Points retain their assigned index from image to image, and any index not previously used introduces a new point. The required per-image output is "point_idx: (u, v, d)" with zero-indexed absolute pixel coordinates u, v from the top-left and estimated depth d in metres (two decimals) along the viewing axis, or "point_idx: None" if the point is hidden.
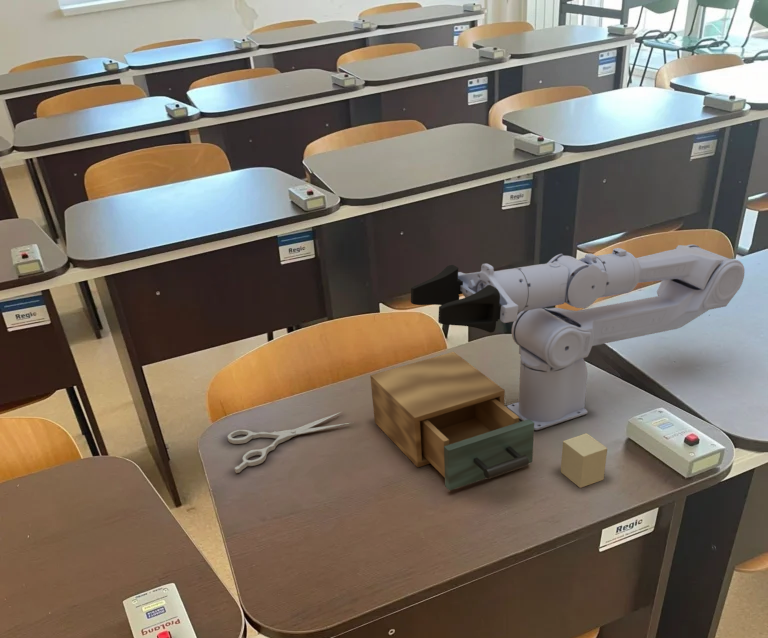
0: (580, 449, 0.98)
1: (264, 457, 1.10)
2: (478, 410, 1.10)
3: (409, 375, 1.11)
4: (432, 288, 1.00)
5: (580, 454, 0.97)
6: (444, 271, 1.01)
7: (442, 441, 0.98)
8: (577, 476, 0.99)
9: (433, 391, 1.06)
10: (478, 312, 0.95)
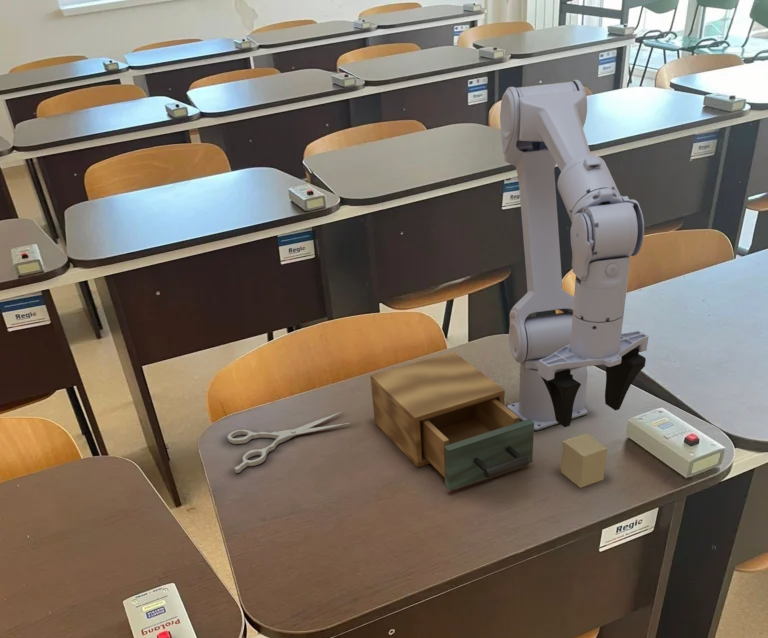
0: (580, 449, 0.98)
1: (264, 457, 1.10)
2: (478, 410, 1.10)
3: (409, 375, 1.11)
4: None
5: (580, 454, 0.97)
6: (568, 394, 0.89)
7: (442, 441, 0.98)
8: (577, 476, 0.99)
9: (433, 391, 1.06)
10: None
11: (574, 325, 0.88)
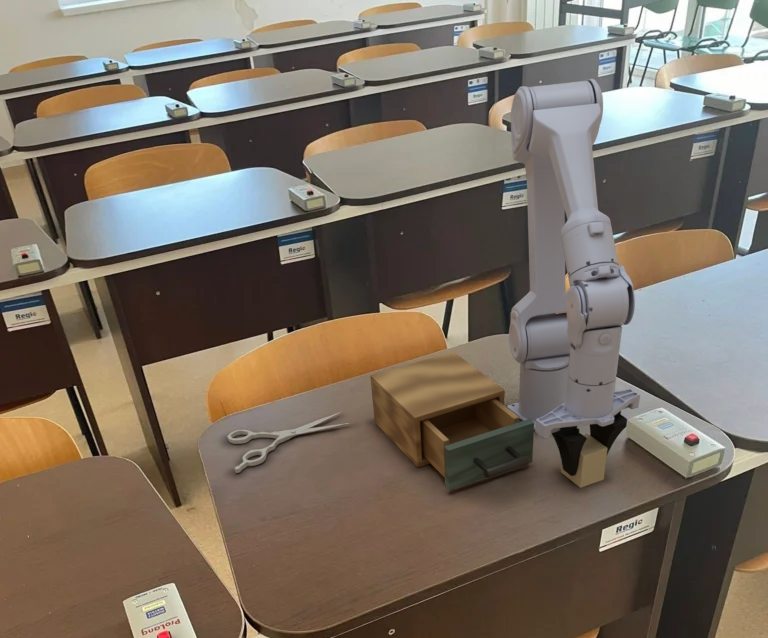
0: None
1: (264, 457, 1.10)
2: (478, 410, 1.10)
3: (409, 375, 1.11)
4: None
5: (580, 454, 0.97)
6: (574, 447, 0.95)
7: (442, 441, 0.98)
8: (577, 476, 0.99)
9: (433, 391, 1.06)
10: None
11: (569, 386, 0.92)
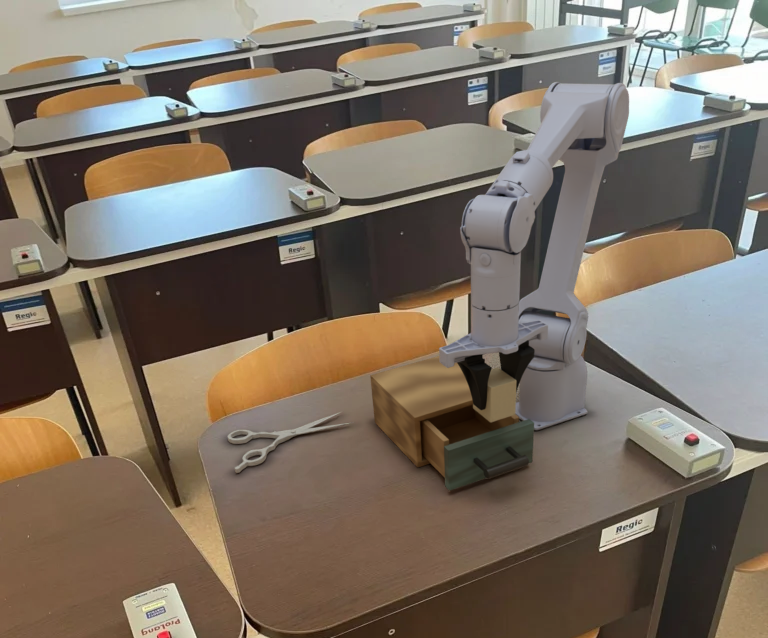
0: (489, 381, 0.95)
1: (264, 457, 1.10)
2: None
3: (409, 375, 1.11)
4: None
5: (488, 386, 0.95)
6: (480, 377, 0.93)
7: (442, 441, 0.98)
8: (487, 410, 0.97)
9: (433, 391, 1.06)
10: None
11: (472, 313, 0.90)
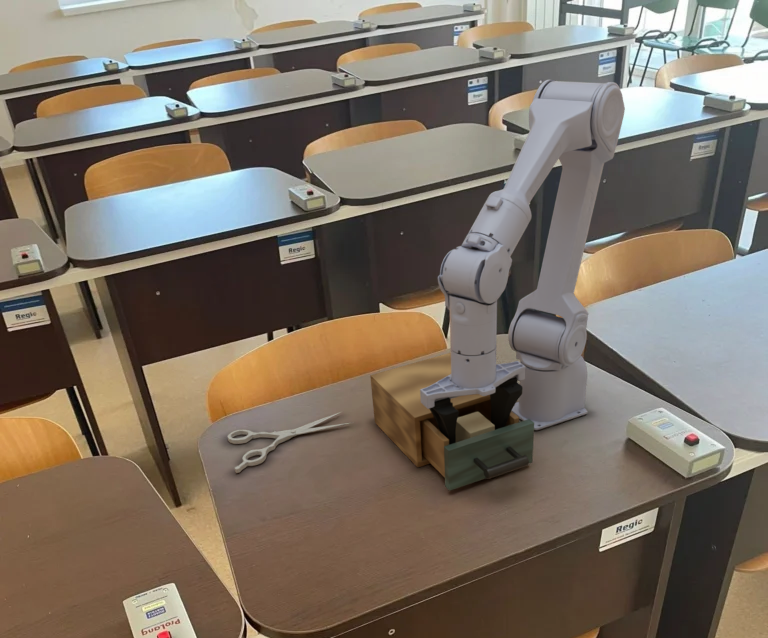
0: (468, 426, 1.00)
1: (264, 457, 1.10)
2: (478, 410, 1.10)
3: (409, 375, 1.11)
4: None
5: (467, 431, 0.99)
6: (448, 421, 0.96)
7: (442, 441, 0.98)
8: None
9: None
10: None
11: (451, 357, 0.95)
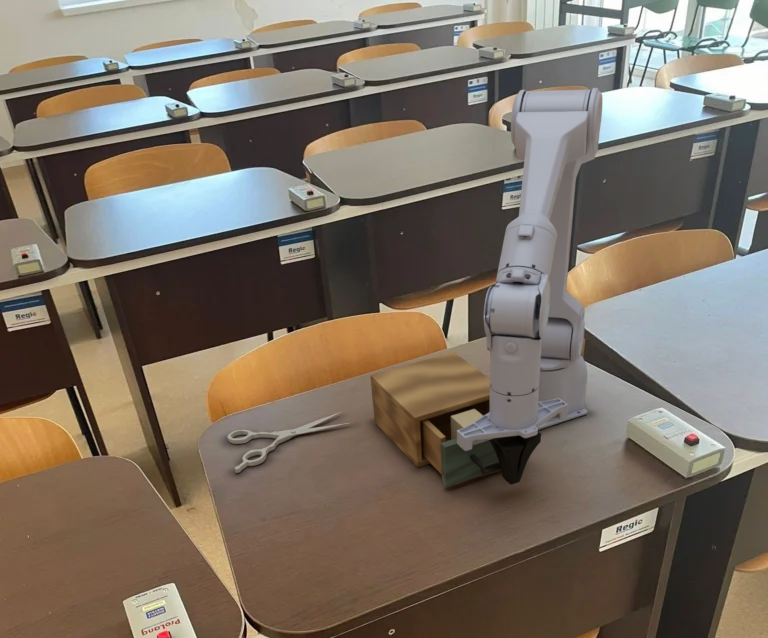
0: (465, 423, 1.01)
1: (264, 457, 1.10)
2: (475, 407, 1.10)
3: (409, 375, 1.11)
4: None
5: None
6: (511, 455, 0.91)
7: (439, 438, 0.99)
8: None
9: (433, 391, 1.06)
10: None
11: (491, 396, 0.88)
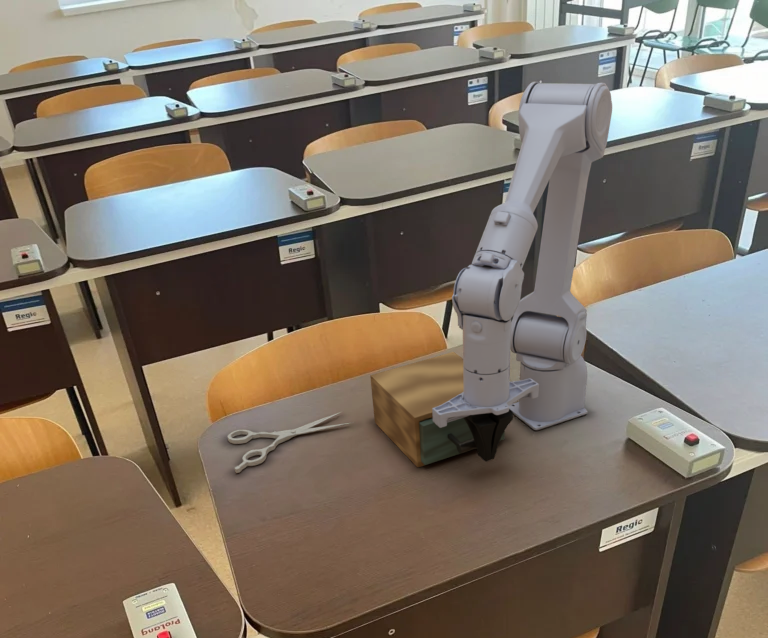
0: None
1: (264, 457, 1.10)
2: None
3: (409, 375, 1.11)
4: None
5: None
6: (484, 432, 0.96)
7: None
8: None
9: (433, 391, 1.06)
10: None
11: (464, 375, 0.93)
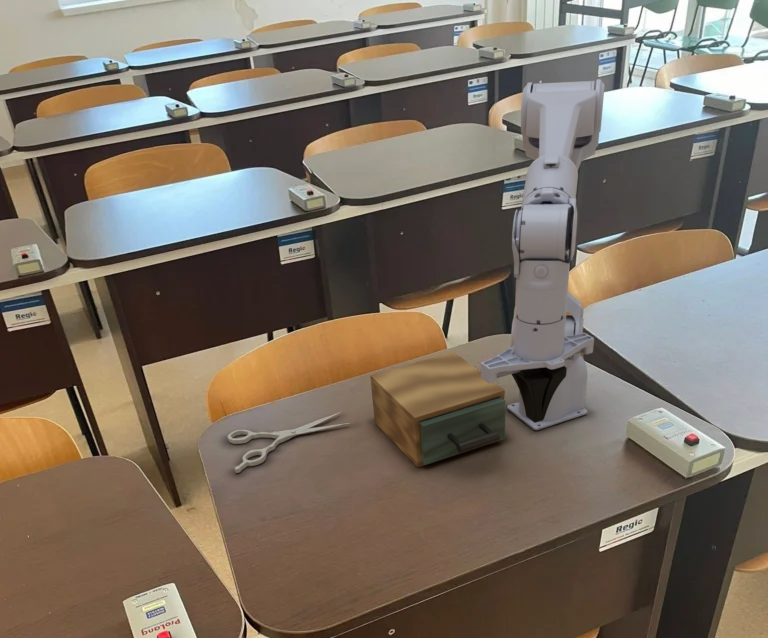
0: None
1: (264, 457, 1.10)
2: None
3: (409, 375, 1.11)
4: None
5: None
6: (536, 389, 0.89)
7: None
8: None
9: (433, 391, 1.06)
10: None
11: (516, 327, 0.86)
